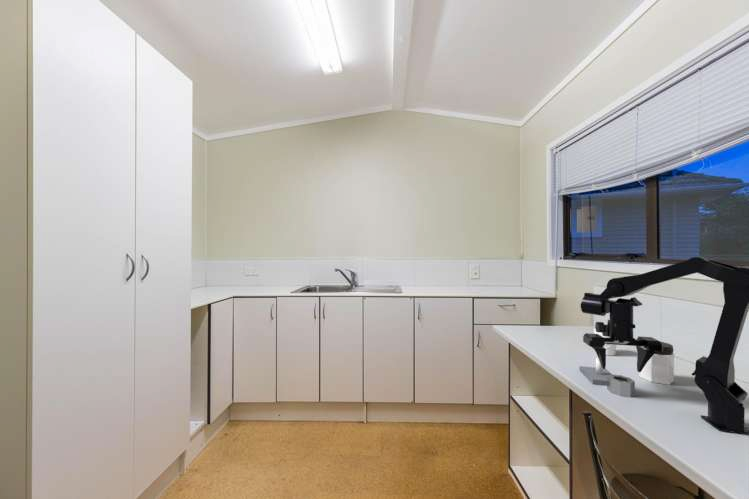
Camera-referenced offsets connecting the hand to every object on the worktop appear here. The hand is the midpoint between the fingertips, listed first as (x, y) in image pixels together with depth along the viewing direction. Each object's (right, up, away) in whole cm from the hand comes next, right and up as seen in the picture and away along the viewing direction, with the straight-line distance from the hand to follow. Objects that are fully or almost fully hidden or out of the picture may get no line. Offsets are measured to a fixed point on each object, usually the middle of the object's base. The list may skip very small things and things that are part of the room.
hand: (621, 370), depth 97 cm
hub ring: (0, -7, 0) cm, 7 cm away
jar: (+19, -7, +9) cm, 22 cm away
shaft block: (+1, -7, +10) cm, 12 cm away
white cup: (+21, -7, +36) cm, 42 cm away
